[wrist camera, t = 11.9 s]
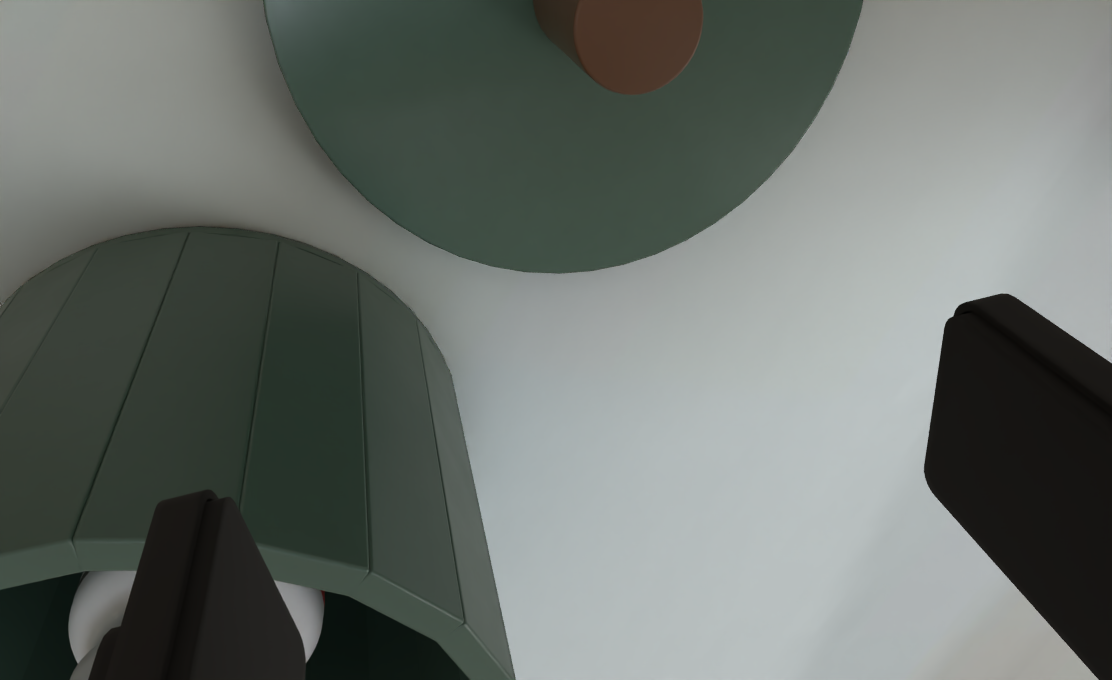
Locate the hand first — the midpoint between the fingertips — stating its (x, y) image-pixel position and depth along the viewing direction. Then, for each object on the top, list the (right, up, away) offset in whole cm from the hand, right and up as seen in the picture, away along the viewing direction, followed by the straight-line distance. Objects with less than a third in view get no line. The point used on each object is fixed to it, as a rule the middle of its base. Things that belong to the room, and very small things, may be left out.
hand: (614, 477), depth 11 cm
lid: (0, +11, +10) cm, 15 cm away
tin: (-11, -1, +15) cm, 19 cm away
